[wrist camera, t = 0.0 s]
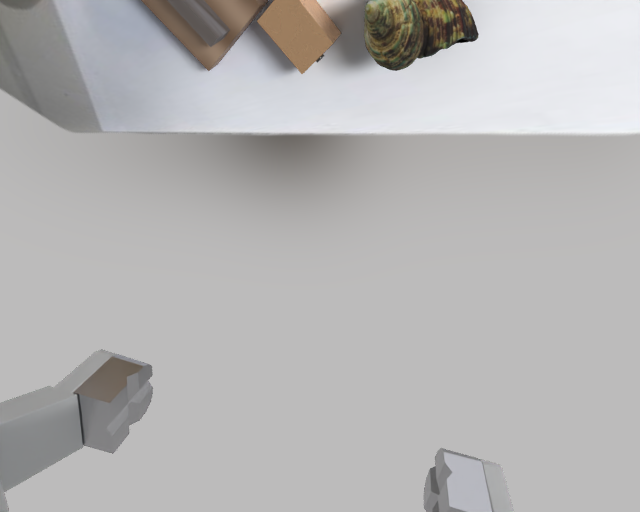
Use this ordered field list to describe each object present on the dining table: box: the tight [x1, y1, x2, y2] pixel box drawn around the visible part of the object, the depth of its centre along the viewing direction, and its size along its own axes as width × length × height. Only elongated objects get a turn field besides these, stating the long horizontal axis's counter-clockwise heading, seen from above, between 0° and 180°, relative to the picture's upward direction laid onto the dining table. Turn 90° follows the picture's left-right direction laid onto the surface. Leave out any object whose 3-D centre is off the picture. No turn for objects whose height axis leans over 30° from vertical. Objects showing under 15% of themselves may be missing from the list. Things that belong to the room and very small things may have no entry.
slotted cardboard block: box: [257, 0, 341, 74], centre depth 50 cm, size 6×8×5 cm
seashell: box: [364, 0, 478, 71], centre depth 45 cm, size 11×11×10 cm
